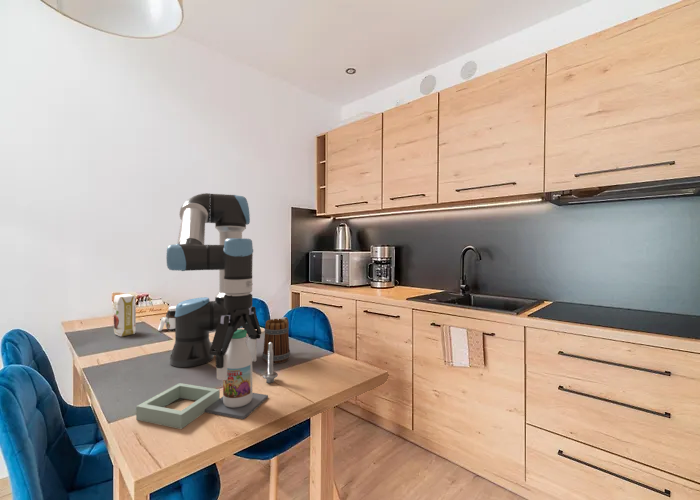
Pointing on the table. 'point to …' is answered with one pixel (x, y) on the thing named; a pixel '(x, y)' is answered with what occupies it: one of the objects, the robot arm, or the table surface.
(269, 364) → the screw
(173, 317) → the spread jar
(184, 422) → the collar
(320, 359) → the table surface
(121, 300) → the juice carton
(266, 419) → the table surface
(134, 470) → the table surface
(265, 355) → the mug
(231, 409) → the plate
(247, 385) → the milk bottle
